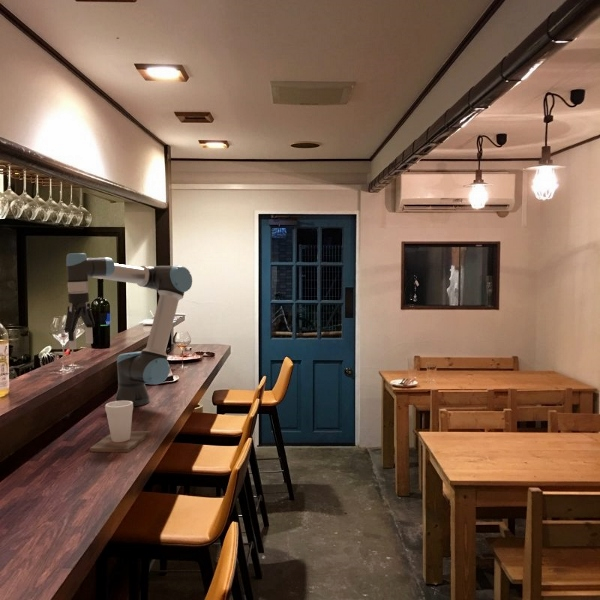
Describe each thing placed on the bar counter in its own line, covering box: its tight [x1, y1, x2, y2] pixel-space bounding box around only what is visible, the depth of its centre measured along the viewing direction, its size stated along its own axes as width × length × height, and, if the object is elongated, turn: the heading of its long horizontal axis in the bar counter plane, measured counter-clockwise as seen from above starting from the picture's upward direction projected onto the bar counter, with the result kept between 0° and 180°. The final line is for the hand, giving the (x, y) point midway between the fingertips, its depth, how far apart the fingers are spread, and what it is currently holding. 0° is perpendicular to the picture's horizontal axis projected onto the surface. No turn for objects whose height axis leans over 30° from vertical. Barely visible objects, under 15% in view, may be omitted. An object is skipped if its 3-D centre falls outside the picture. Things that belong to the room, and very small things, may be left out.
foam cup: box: [104, 400, 134, 442], centre depth 219 cm, size 10×9×13 cm
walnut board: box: [89, 430, 151, 453], centre depth 219 cm, size 20×14×1 cm
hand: (81, 346), depth 241 cm, fingers open, 13 cm apart
